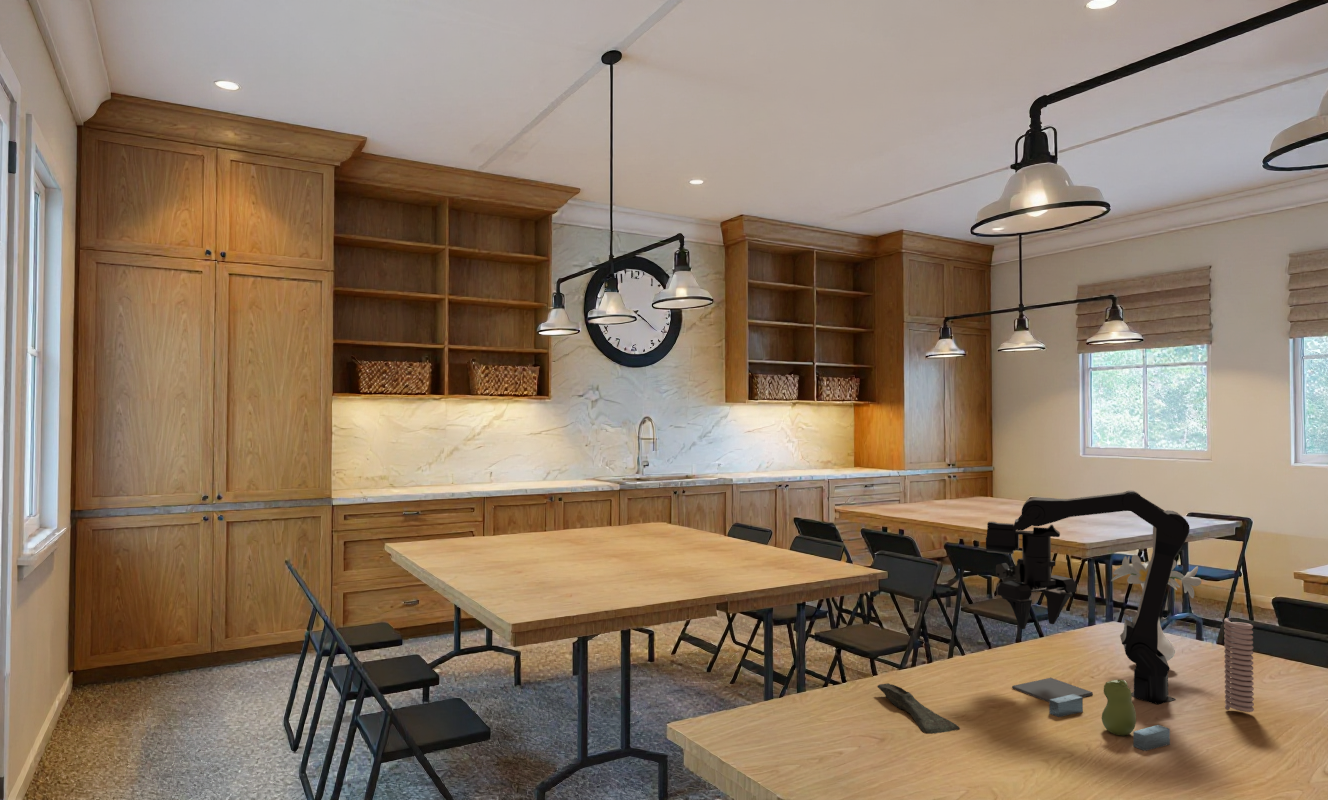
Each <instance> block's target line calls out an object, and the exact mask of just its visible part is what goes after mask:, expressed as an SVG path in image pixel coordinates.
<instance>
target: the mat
mask: <svg viewBox="0 0 1328 800" xmlns="http://www.w3.org/2000/svg"><path fill="white" fill-rule="evenodd" d="M1012 688H1013V690H1015V689H1016V690H1015V691H1018V692H1020V691H1021V693H1023V694H1026V695H1028V694H1029V695H1028V696H1032V697H1033V698H1034V697H1035V698H1036V699H1039V700H1042V701H1044V702H1048V703H1049V700H1050V699H1054V698H1058V697H1063V696H1067V695H1071V694H1075V695H1078V696H1080V697H1083V698H1086V697H1091V696H1093V693H1094V692H1093V691H1091V690H1087V689H1085V688H1081V687H1079V686H1076V685H1073V684H1071V683H1067V682H1064V681H1061V680H1058V679H1056V678H1053V677H1046V678H1043V679H1038V680H1037V679H1036V680H1032V681H1029V682H1025V683H1019V684H1015V685H1012V687H1011V689H1012Z"/></svg>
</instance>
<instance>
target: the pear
mask: <svg viewBox="0 0 1328 800" xmlns="http://www.w3.org/2000/svg"><path fill="white" fill-rule="evenodd" d="M1128 686H1129V685H1128V682H1127V681H1126V680H1124V679H1113V680H1108V681H1106V682H1105V683H1104V685H1103V694H1104V696H1105V698H1106V699H1107V701H1106V705H1105V707H1104V709H1103V711H1102V714H1101V722H1102V724H1103V726H1104V728H1105V730H1107V731H1108V732H1110V733H1111V734H1114V735H1115V736H1121V737H1122V736H1128V735H1130V734H1131V733H1133V732H1134V731H1135V728H1136V724H1137V723H1136V722H1137V713H1136V708H1135V705H1134V703H1133V701H1132V699H1133V697H1132V691H1131V688H1129V687H1128Z"/></svg>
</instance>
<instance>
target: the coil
mask: <svg viewBox="0 0 1328 800" xmlns="http://www.w3.org/2000/svg"><path fill="white" fill-rule="evenodd" d="M1223 622H1224V624H1223V628H1225V629H1224V630H1223V632H1224V635H1223V637H1224V640H1223V641H1224V646H1223V647H1224V651H1223V652H1224V655H1223V656H1224V678H1225V679H1224V689H1225V690H1224V698H1225V700H1224V703H1225V706H1224V708H1225V710H1226V711H1230V709H1233V710H1236V711H1240V712H1245V713H1252V712H1254V711H1255V708H1254V705H1255V704H1254V700H1255V699H1254V697H1253V696H1254V695H1255V693H1254V687H1253V686H1254V685H1255V683H1254V682H1253V680H1254V676H1253V675H1254V674H1255V673H1254V671H1253V670H1254V666H1253V665H1254V661H1253V660H1254V656H1253V654H1254V651H1253V650H1254V646H1253V644H1254V641H1253V639H1254V636H1253V635H1252V634H1254V631H1253V630H1252V629H1253V628H1254V625H1252V624H1251V623H1247V622H1239V621H1232V622H1231V621H1230V619H1229V618H1228V617H1226V618H1224V620H1223Z"/></svg>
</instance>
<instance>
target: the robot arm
mask: <svg viewBox="0 0 1328 800" xmlns="http://www.w3.org/2000/svg"><path fill="white" fill-rule="evenodd" d="M1127 511H1128V512H1131V513H1132V514H1134V515H1136V516H1138V517H1139V518H1141V520H1142V521H1143V520H1144V522H1146V523H1148V524H1150V525H1151V526H1152V553H1151V557H1150V560H1149V561H1150V565H1149V568H1148V572H1147V576H1146V580H1145V584H1144V588H1143V590H1142V592H1141V595H1140V600H1139V604H1138V607H1137V612H1136V614H1135V616H1134V617H1133V619H1132V621H1131V620H1128V619H1127V618H1125V619H1124V623H1123V630H1122V633H1121V634H1120V635H1119V637H1120V641H1121V644H1122V645H1123V648H1124V652H1125V655H1126V656H1127V658H1128V660H1130V661H1131V662H1132V663H1134V664H1135V666H1134V669H1133V692H1132V691H1131V693H1132V698H1135V699H1137V700H1141V701H1145V702H1147V703H1149V704H1153V705H1157V706H1158V705H1162V704H1166V703H1171V702H1173V701H1176V700H1177V699H1176V698H1175V697H1171V696H1169V671H1170V666H1169V663H1168V661H1167V660H1166V658H1165V656H1164V655H1163V654H1162V653H1161V652H1160V651H1159V650H1158V649H1157V647H1158V620H1160V615H1161V611H1162V609H1163V608H1162V607H1163V604H1164V601H1165V600H1164V599H1165V595H1166V592H1167V589H1168V585H1169V584H1168V581H1169V577H1170V574H1171V570H1172V566H1173V562H1174V560H1176V559H1175V558H1176V557H1177V556H1178V554H1179V553H1180V551H1181V549H1182V548H1183V546H1184V544H1185V542H1186V540H1187V538H1188V536H1189V534H1190V524H1189V522H1188V520H1186V518H1185V517H1184V516H1182V514H1180V513H1178V512H1177V511H1174V510H1169V509H1168V510H1164V509H1162V508H1161V507H1160V506H1159V505H1156V504H1155V503H1153V502H1152V501H1150V500H1148V499H1146V498H1145V497H1144V496H1141V494H1139V492H1137V491H1135V490H1126V491H1124V492H1116V493H1108V494H1100V495H1091V496H1083V497H1074V498H1054V497H1032V498H1029V499H1027V500H1026V501H1025V502H1024V504H1023V505H1022V509H1021V514H1020V515H1019V517H1018V518H1015V520H1014V523H1005V522H1004V523H1003V522H996V521H988V522H987V528H986V537H985V549H986V553H998V554H1010V555H1011V554H1012V555H1013V554H1014V553H1015V551H1016V550H1019V549H1020V535H1021V540H1022V541H1021V542H1022V543H1021V547H1022V549H1021V552H1022V553H1021V555H1022V558H1018V559H1017V560H1016V565H1012V566H1011V565H1010V566H1009V565H1008V563H1007V562H1004V563H998V564H996V567H995V575H996V577H997V579H998V580H1000V579H1001V580H1002V582H1001V581H1000V582H999V583H998V584H997V585H996V595H997V596H1000V597H1001V598H1002V600H1003V599H1004V600H1005V601H1006V602H1007V603H1008V604H1010V606H1011V609H1012V610H1013V613H1014V616H1015V618H1016V621H1017V624H1018V626H1019V629H1021V630H1025V629H1026V627H1027V625H1028V620H1029V615H1030V611H1031V606H1032V601H1033V600H1032V599H1030V598H1031V597H1032V593H1037V592H1042V594H1043V595H1044V596H1045V598H1046V609H1047V619H1048V623H1049V624H1050V625H1055V624H1056V621H1057V620H1058V618H1059V616H1060V614H1061V612H1062V611H1063V608H1064V607H1065V606H1066V604H1067V602H1068V601H1069V599H1070V597H1072V596H1073V593H1077V582H1076V581H1075V580H1074V578H1070V577H1065V576H1061V575H1057V574H1052V567H1056V561H1054V560H1052V540H1051V539H1052V538H1060V536H1061V532H1060V531H1059V530H1058V529H1056V528H1055V526H1054V525H1053V523H1056V522H1059V521H1062V520H1064V519H1068V518H1073V517H1081V516H1084V517H1085V516H1090V515H1101V514H1109V513H1116V512H1118V513H1120V512H1127ZM1048 524H1050V525H1049V526H1048V527H1042V526H1046V525H1048ZM1030 527H1033V528H1032V529H1033V530H1027V529H1029V528H1030ZM1172 571H1173V570H1172Z"/></svg>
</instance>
